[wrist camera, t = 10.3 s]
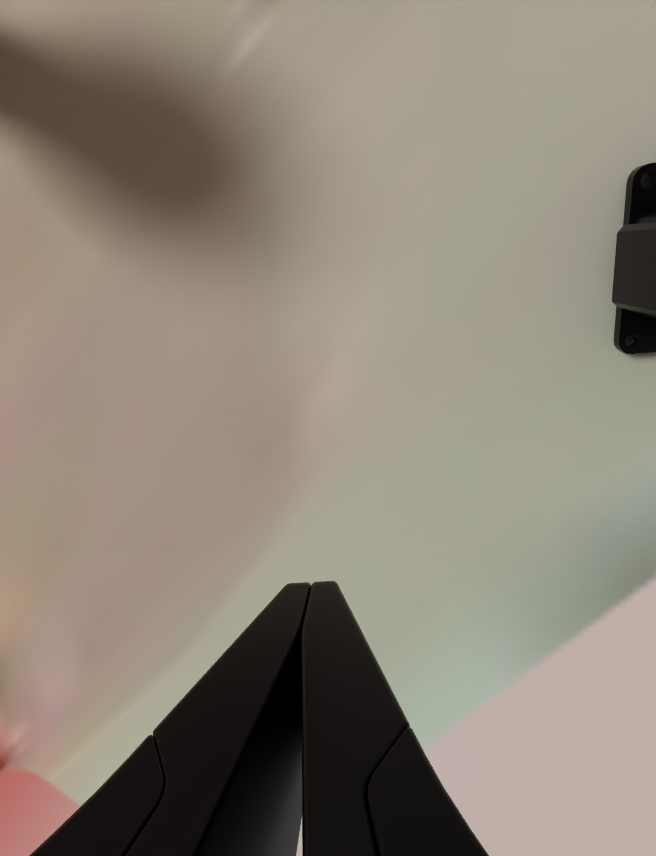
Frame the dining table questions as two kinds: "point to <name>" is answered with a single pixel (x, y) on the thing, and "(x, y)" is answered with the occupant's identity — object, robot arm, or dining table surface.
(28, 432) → the dining table surface
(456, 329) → the dining table surface
